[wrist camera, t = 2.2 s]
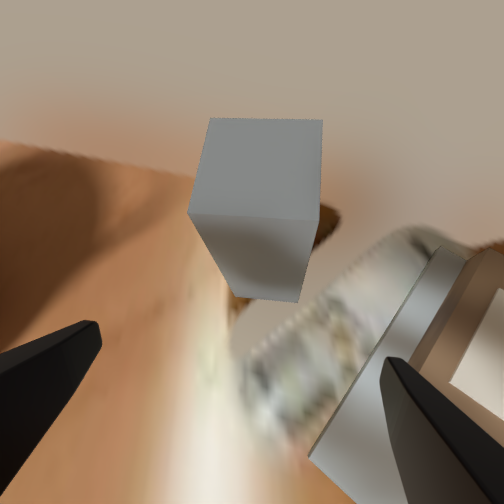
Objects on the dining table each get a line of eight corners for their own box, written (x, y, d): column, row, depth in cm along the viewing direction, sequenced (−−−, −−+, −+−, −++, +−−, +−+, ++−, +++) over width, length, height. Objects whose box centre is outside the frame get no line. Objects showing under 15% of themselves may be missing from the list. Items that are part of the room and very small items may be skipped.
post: (297, 302, 22) (319, 220, 10) (235, 296, 23) (187, 212, 11) (301, 245, 24) (322, 119, 12) (243, 240, 25) (210, 117, 13)
